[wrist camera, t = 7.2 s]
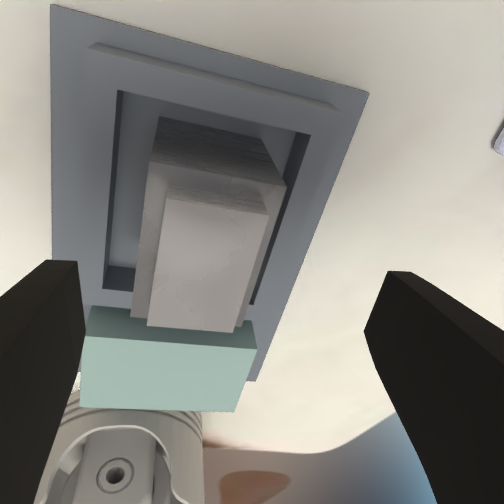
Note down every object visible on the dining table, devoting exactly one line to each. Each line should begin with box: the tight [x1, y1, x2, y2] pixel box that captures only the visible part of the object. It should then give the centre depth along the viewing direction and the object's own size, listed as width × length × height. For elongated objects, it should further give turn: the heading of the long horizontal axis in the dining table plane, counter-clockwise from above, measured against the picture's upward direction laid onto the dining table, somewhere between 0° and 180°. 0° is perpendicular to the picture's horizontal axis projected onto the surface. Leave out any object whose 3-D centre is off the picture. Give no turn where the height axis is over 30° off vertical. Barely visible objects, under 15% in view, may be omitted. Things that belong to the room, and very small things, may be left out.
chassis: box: [50, 4, 370, 412], centre depth 18 cm, size 12×18×3 cm, turn 165°
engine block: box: [130, 116, 287, 333], centre depth 15 cm, size 4×6×6 cm
